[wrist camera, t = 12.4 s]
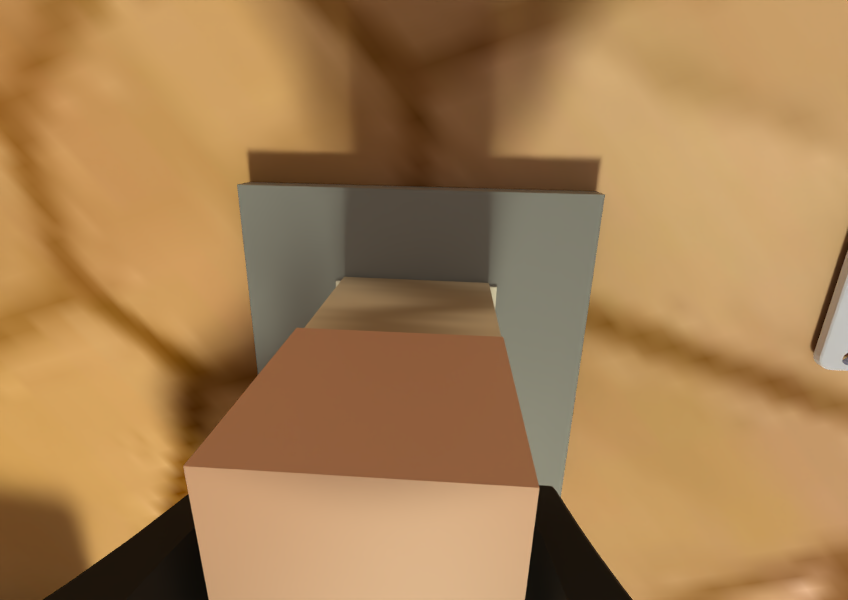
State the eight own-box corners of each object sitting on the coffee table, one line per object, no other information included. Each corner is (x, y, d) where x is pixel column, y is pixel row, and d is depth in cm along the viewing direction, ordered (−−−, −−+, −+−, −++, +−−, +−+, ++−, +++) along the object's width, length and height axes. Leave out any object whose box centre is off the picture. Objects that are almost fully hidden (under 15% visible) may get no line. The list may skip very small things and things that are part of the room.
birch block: (488, 283, 16) (503, 345, 11) (479, 409, 17) (488, 510, 13) (344, 276, 16) (298, 335, 11) (348, 401, 18) (310, 498, 13)
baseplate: (595, 191, 16) (605, 195, 15) (555, 480, 20) (560, 499, 19) (249, 182, 16) (235, 184, 15) (278, 463, 20) (268, 481, 19)
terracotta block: (503, 336, 11) (539, 487, 6) (489, 503, 13) (508, 719, 8) (296, 327, 11) (183, 466, 7) (309, 491, 13) (226, 696, 8)
